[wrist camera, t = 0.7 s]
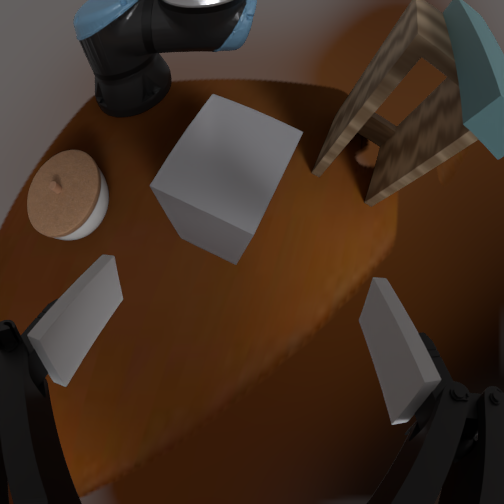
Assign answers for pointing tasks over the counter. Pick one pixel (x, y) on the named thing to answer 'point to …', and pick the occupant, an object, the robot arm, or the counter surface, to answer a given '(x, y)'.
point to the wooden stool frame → (418, 121)
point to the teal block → (478, 74)
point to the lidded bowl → (68, 196)
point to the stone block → (224, 175)
